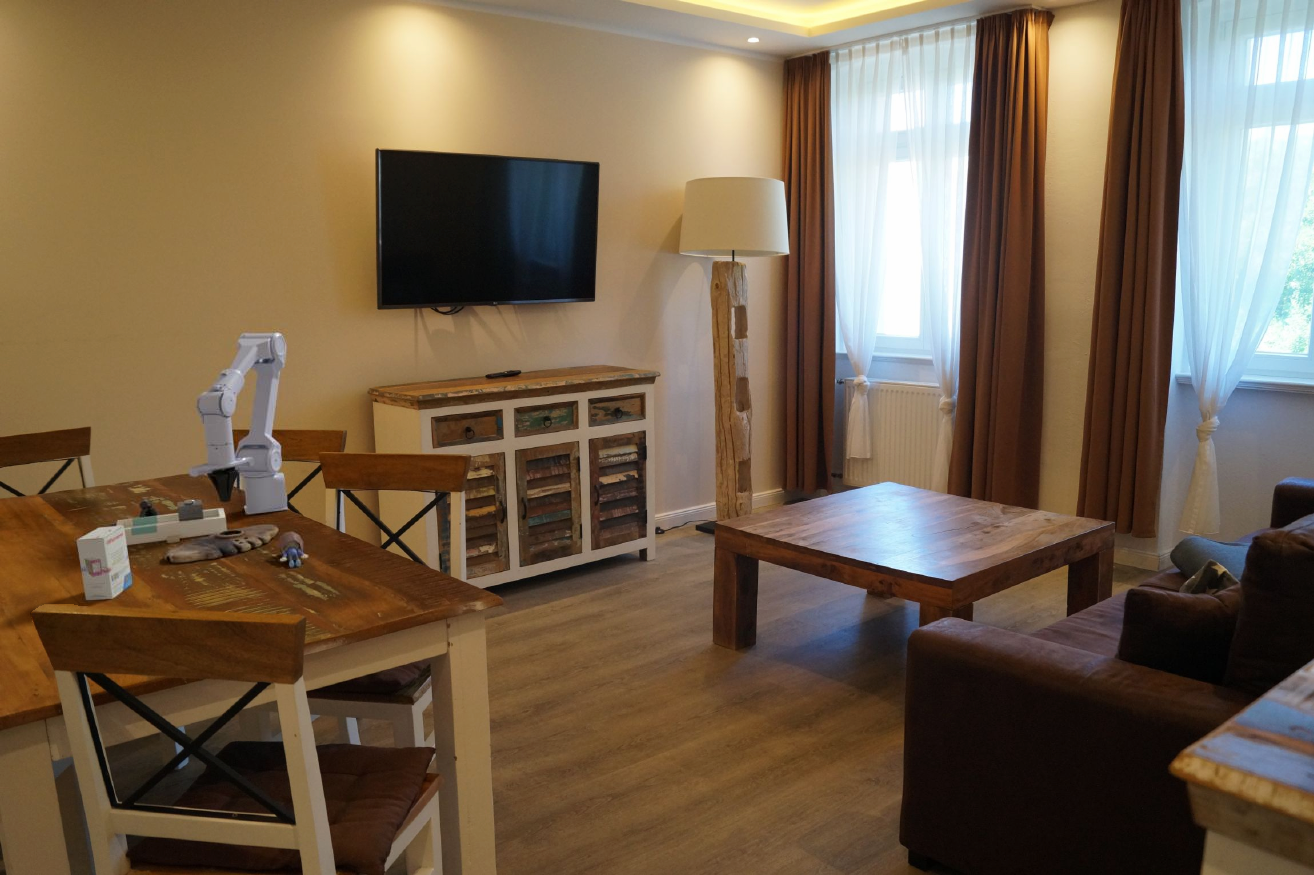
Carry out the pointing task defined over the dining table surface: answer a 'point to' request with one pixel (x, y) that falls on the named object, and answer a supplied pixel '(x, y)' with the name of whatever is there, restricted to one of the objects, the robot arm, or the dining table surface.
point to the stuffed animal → (145, 510)
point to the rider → (190, 510)
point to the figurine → (291, 548)
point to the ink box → (104, 562)
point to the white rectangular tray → (172, 527)
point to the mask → (222, 544)
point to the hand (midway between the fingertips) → (225, 501)
